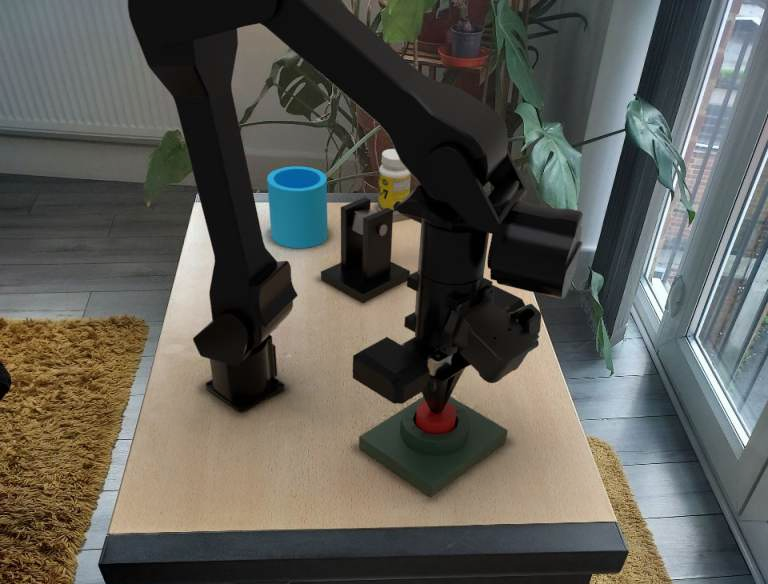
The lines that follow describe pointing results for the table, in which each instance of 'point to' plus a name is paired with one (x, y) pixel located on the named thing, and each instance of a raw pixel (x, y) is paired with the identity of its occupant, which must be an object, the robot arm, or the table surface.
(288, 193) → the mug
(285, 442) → the table surface
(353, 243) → the lever bracket
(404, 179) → the supplement bottle
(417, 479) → the switch
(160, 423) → the table surface
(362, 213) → the lever
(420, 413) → the button
